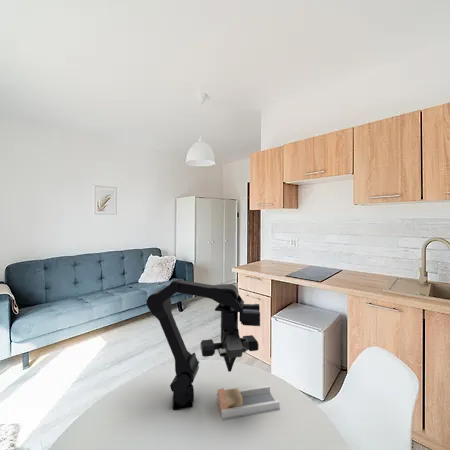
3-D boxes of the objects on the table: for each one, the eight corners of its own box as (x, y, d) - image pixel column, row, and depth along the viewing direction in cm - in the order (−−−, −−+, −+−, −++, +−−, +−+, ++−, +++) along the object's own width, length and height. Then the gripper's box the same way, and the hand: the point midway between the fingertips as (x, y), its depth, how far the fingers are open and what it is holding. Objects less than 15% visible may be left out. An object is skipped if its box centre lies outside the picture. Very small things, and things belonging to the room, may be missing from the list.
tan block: (227, 413, 76) (227, 400, 76) (223, 402, 81) (223, 390, 81) (242, 410, 77) (242, 398, 77) (238, 399, 82) (238, 387, 82)
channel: (222, 423, 73) (222, 407, 73) (216, 400, 83) (216, 386, 83) (280, 413, 77) (280, 397, 78) (268, 392, 87) (268, 378, 87)
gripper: (204, 337, 70) (204, 391, 70) (264, 331, 74) (264, 382, 74) (200, 322, 81) (200, 369, 81) (252, 318, 85) (252, 362, 85)
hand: (229, 371), depth 80 cm, fingers closed
